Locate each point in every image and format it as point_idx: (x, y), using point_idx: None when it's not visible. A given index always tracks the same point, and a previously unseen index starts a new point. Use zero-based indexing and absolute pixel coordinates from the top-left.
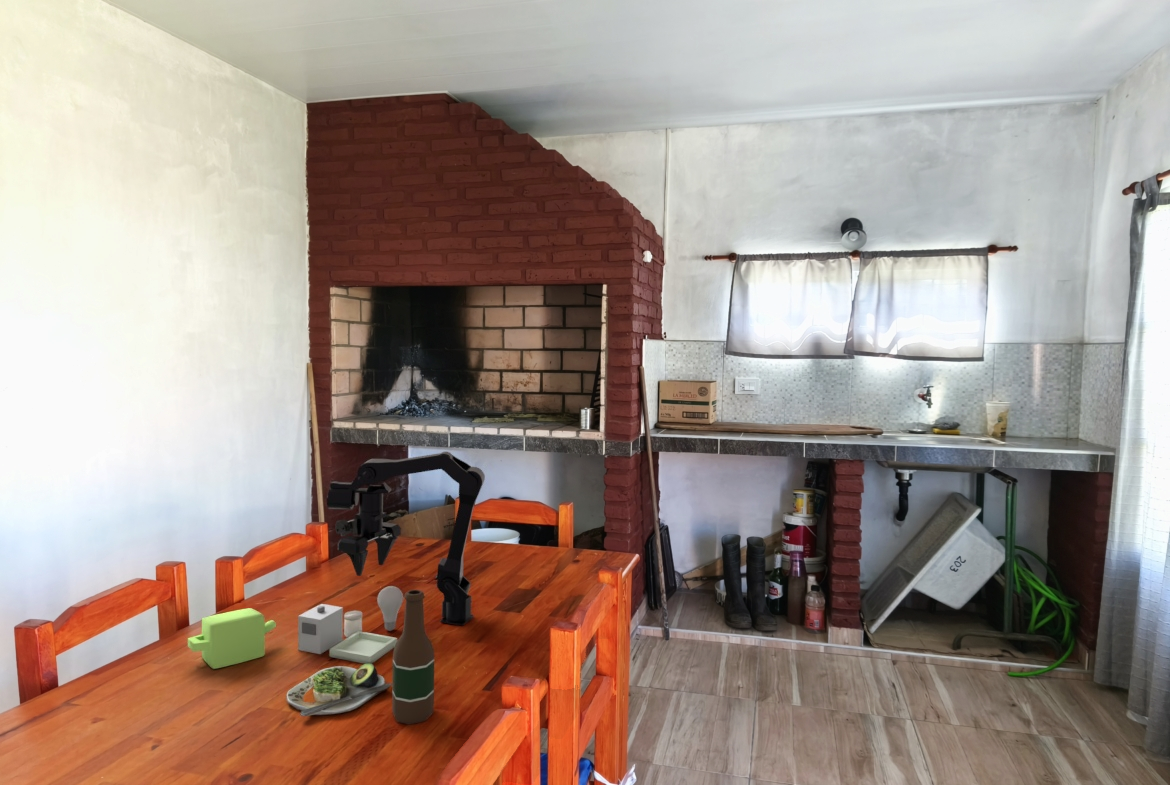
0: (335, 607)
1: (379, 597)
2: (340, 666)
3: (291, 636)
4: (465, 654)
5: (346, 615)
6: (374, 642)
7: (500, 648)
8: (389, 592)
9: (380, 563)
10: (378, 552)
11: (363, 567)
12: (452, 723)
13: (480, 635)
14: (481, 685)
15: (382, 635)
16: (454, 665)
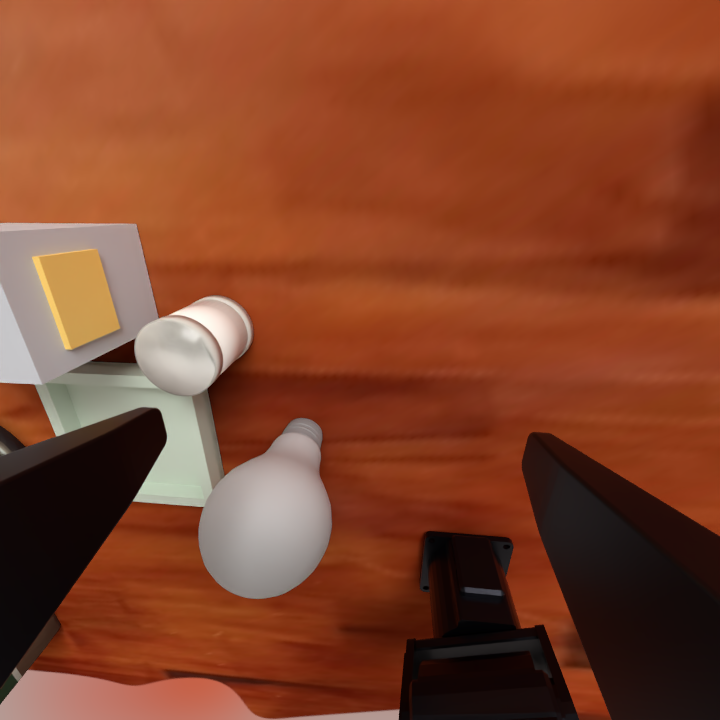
0: (11, 350)
1: (203, 512)
2: (2, 451)
3: (55, 81)
4: (269, 623)
5: (143, 341)
6: (189, 440)
7: (331, 665)
8: (213, 577)
9: (530, 461)
10: (632, 548)
11: (97, 539)
12: (54, 658)
13: (380, 626)
14: (175, 666)
15: (205, 465)
16: (213, 619)
